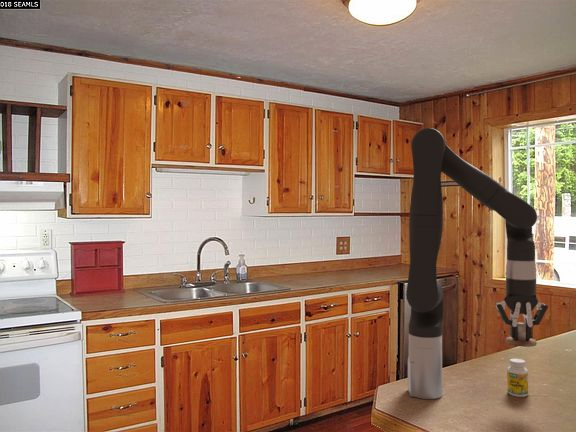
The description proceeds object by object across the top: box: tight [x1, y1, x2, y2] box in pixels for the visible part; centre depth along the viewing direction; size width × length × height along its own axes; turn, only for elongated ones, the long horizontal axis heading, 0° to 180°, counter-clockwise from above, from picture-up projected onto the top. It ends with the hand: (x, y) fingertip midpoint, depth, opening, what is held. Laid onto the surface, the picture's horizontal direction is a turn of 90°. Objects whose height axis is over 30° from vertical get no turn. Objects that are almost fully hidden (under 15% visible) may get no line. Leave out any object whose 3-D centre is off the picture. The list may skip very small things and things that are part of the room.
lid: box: [505, 321, 537, 348], centre depth 138 cm, size 8×8×5 cm
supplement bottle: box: [506, 358, 529, 398], centre depth 144 cm, size 5×5×10 cm
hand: (521, 339), depth 138 cm, fingers closed on lid, 2 cm apart
